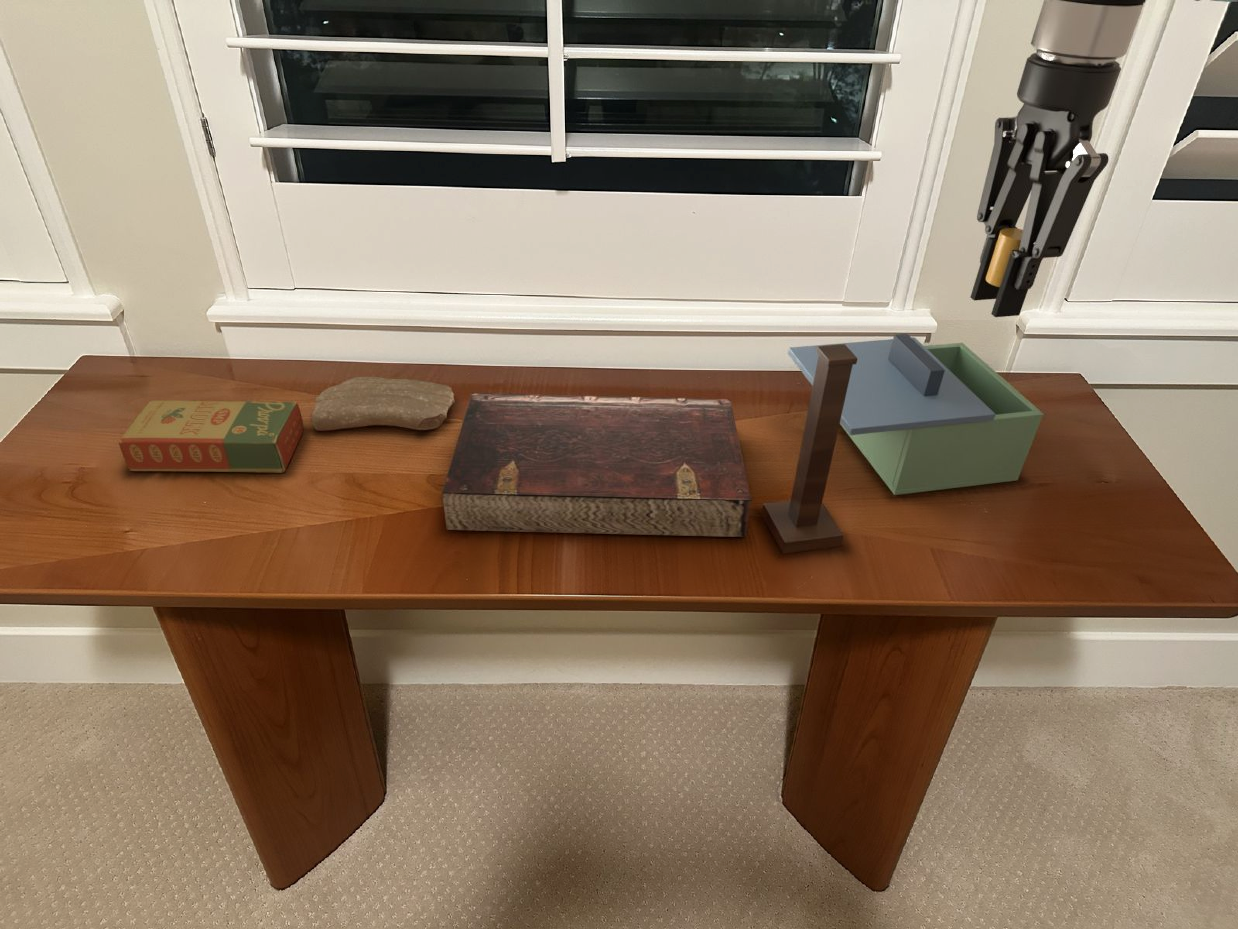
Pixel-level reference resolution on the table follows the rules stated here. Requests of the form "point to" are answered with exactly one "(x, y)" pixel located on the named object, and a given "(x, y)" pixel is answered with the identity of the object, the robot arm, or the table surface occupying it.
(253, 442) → the carton
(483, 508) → the hardback book
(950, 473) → the bin
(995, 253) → the peg
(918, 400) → the lid
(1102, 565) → the table surface
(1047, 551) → the table surface
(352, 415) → the decorative stone
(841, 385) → the stand
